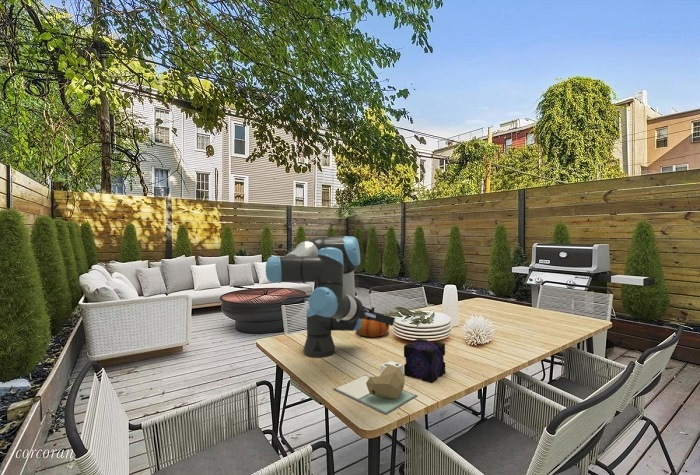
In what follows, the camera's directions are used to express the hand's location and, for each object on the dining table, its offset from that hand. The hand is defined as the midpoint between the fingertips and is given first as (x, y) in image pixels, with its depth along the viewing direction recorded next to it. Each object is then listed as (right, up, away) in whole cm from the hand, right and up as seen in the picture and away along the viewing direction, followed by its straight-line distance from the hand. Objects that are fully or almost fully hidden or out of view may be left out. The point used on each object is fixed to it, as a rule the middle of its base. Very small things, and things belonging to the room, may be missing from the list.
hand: (376, 315), depth 121 cm
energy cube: (+21, -28, +17) cm, 38 cm away
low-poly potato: (+3, -28, -2) cm, 28 cm away
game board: (-1, -28, +1) cm, 28 cm away
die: (+7, -28, +12) cm, 31 cm away
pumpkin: (+3, -27, +72) cm, 77 cm away
